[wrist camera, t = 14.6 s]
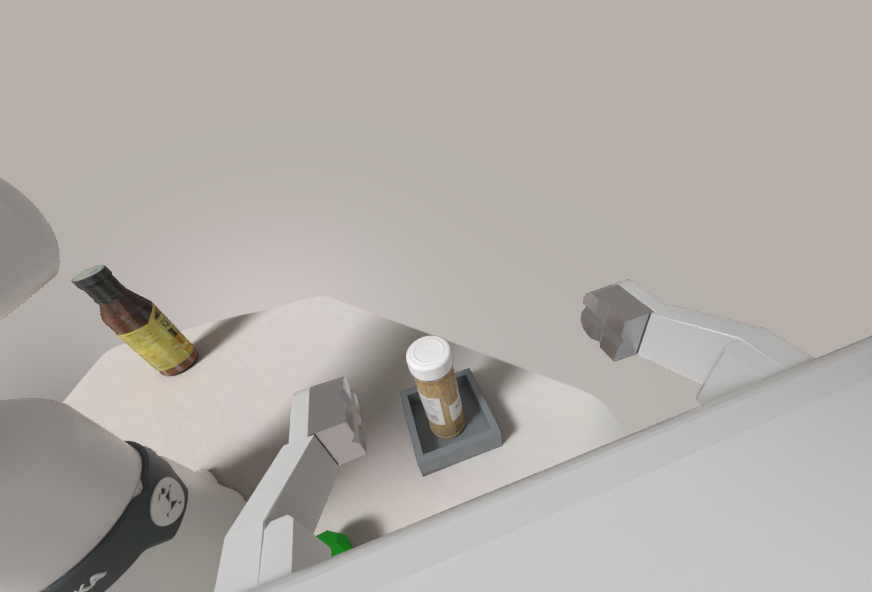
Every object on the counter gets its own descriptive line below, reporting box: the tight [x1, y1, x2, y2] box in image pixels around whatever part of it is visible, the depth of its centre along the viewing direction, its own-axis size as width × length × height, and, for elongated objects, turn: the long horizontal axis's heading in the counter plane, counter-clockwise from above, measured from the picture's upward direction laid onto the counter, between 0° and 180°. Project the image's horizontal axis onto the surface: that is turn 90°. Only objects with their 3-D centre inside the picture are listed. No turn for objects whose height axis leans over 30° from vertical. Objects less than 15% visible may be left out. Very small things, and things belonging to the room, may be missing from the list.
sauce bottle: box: [71, 265, 197, 376], centre depth 52 cm, size 6×6×20 cm
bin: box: [400, 368, 502, 476], centre depth 40 cm, size 10×10×3 cm
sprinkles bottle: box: [406, 336, 465, 439], centre depth 36 cm, size 5×5×13 cm
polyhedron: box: [316, 530, 352, 557], centre depth 30 cm, size 5×5×5 cm
